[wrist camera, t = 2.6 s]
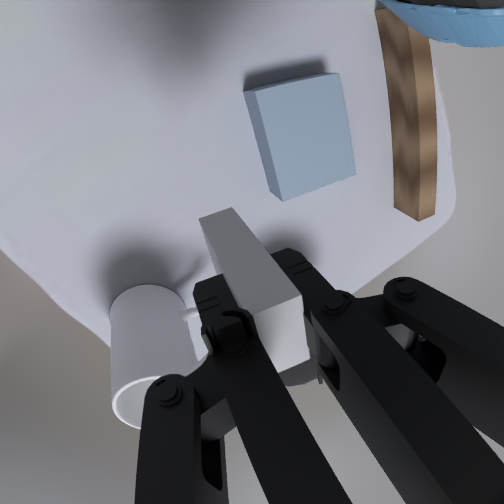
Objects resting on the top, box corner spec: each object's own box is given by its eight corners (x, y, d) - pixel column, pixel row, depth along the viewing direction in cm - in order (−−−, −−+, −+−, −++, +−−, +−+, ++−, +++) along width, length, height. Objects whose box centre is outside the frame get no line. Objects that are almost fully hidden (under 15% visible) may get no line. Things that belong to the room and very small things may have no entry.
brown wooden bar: (374, 10, 24) (403, 5, 20) (394, 12, 25) (423, 8, 21) (393, 207, 37) (418, 221, 33) (410, 201, 37) (434, 214, 34)
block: (241, 91, 26) (254, 91, 23) (319, 73, 27) (339, 72, 24) (268, 190, 31) (282, 201, 28) (336, 165, 32) (356, 174, 29)
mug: (189, 254, 31) (218, 337, 21) (225, 311, 36) (261, 393, 26) (93, 307, 30) (87, 399, 20) (138, 355, 35) (149, 441, 25)
